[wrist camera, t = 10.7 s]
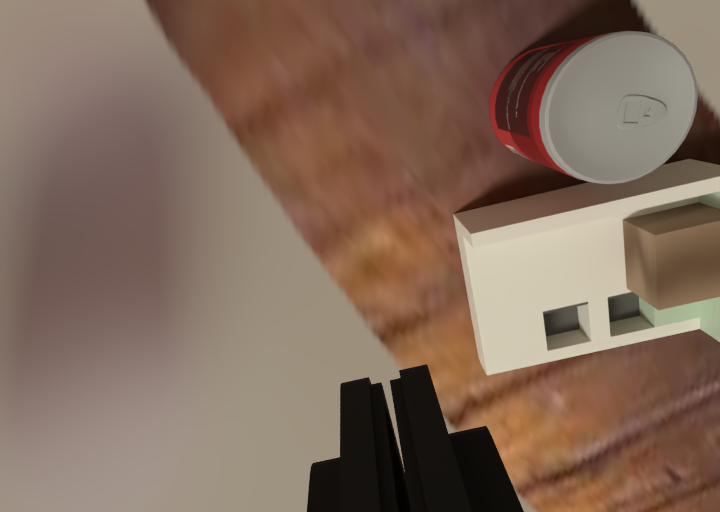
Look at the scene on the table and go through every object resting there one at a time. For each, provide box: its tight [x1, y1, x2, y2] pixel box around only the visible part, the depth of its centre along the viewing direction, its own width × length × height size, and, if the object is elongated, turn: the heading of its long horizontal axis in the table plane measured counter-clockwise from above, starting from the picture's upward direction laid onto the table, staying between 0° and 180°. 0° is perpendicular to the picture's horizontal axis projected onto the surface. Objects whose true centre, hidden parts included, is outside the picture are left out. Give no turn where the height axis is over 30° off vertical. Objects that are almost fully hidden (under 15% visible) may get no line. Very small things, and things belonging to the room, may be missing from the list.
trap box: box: [453, 159, 720, 375], centre depth 37 cm, size 13×18×6 cm
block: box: [622, 202, 720, 310], centre depth 35 cm, size 6×6×4 cm
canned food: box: [489, 31, 698, 184], centre depth 31 cm, size 8×8×11 cm
